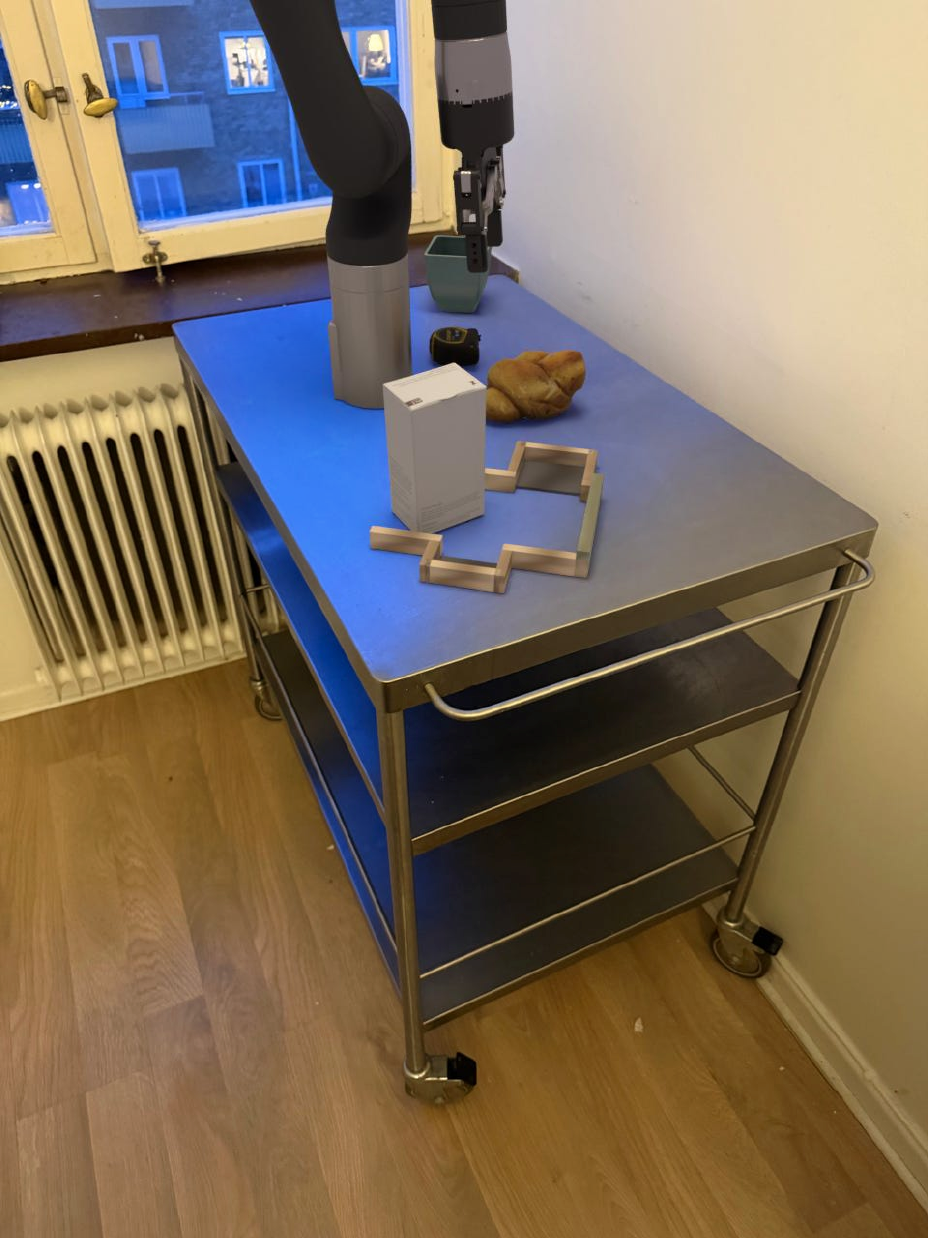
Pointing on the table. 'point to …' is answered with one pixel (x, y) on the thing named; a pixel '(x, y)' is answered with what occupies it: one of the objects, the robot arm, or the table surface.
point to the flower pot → (453, 275)
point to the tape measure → (455, 346)
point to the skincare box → (436, 447)
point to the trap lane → (526, 471)
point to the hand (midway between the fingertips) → (485, 258)
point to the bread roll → (533, 385)
